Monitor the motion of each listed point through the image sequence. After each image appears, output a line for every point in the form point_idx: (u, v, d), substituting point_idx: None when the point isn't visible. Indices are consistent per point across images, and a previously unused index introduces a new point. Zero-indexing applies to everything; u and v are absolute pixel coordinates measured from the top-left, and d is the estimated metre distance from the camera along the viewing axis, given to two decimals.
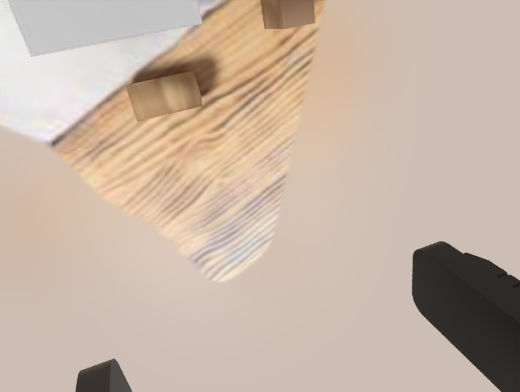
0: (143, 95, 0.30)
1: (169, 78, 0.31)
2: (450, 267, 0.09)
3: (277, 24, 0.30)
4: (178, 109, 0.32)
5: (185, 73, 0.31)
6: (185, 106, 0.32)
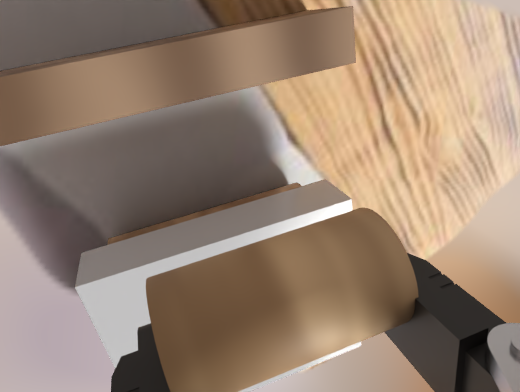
0: (205, 299, 0.08)
1: (291, 234, 0.09)
2: None
3: None
4: (336, 343, 0.08)
5: (339, 216, 0.09)
6: (362, 327, 0.08)
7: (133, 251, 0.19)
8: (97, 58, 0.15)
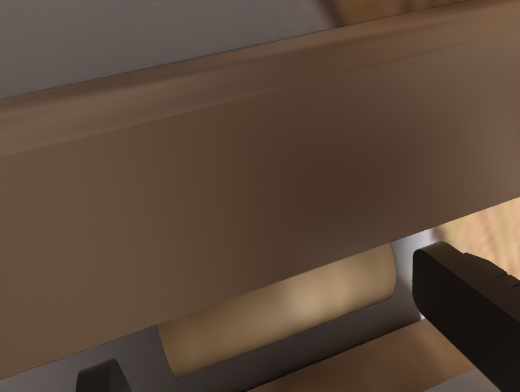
0: None
1: None
2: (450, 267, 0.09)
3: None
4: (319, 311, 0.09)
5: None
6: (343, 296, 0.09)
7: None
8: (3, 160, 0.04)
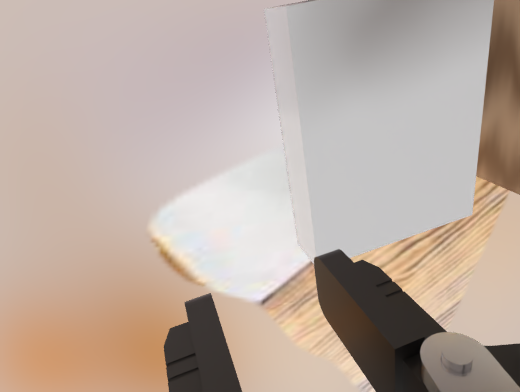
0: None
1: None
2: (336, 274, 0.09)
3: (508, 185, 0.29)
4: None
5: None
6: None
7: None
8: None
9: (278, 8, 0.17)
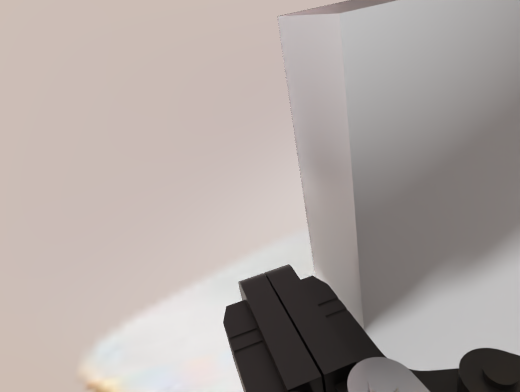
0: None
1: None
2: (280, 292, 0.09)
3: None
4: None
5: None
6: None
7: None
8: None
9: (315, 17, 0.07)
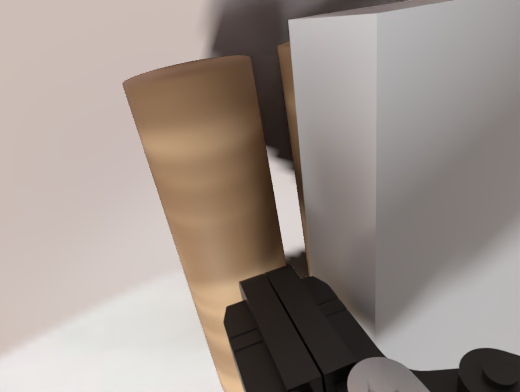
0: None
1: None
2: (280, 292, 0.09)
3: None
4: None
5: None
6: None
7: None
8: None
9: (341, 19, 0.07)
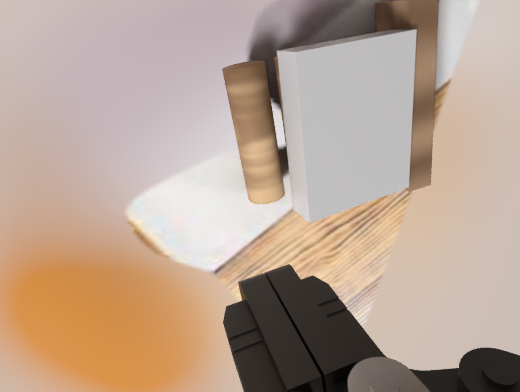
0: None
1: None
2: (281, 292, 0.09)
3: None
4: None
5: None
6: None
7: None
8: (435, 66, 0.33)
9: (289, 52, 0.28)
